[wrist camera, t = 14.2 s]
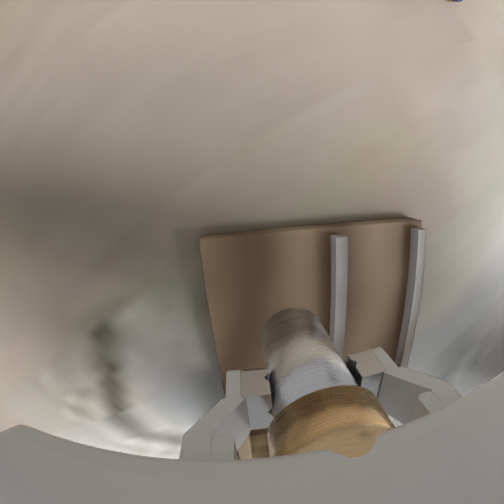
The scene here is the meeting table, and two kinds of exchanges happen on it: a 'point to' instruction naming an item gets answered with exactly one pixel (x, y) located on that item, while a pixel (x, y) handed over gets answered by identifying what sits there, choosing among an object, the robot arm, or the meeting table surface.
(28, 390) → the meeting table surface
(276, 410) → the grey and tan cylinder
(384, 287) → the board
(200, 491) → the robot arm
